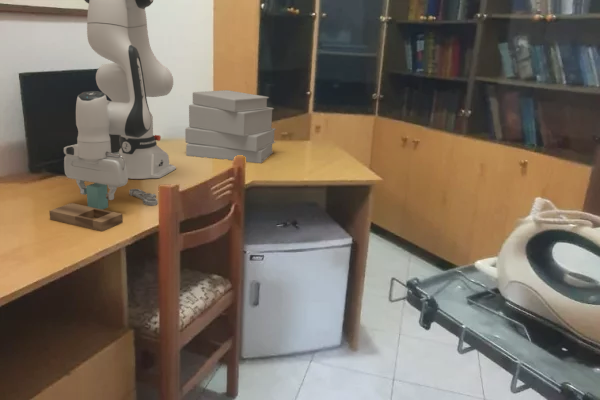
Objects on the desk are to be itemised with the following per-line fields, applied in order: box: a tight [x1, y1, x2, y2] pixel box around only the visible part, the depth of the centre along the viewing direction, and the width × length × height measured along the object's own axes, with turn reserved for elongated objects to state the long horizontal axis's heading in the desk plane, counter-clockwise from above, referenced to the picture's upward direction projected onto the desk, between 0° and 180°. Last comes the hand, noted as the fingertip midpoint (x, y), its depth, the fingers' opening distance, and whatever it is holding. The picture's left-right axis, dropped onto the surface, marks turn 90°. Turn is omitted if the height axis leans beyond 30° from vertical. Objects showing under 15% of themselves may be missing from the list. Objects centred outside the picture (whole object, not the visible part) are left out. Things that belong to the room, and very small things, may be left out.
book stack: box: [184, 89, 277, 164], centre depth 231 cm, size 30×35×26 cm
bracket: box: [128, 188, 159, 206], centre depth 170 cm, size 8×2×15 cm
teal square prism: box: [85, 182, 109, 210], centre depth 158 cm, size 4×4×7 cm
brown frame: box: [48, 202, 124, 232], centre depth 148 cm, size 8×18×2 cm, turn 67°
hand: (97, 196), depth 158 cm, fingers open, 8 cm apart
